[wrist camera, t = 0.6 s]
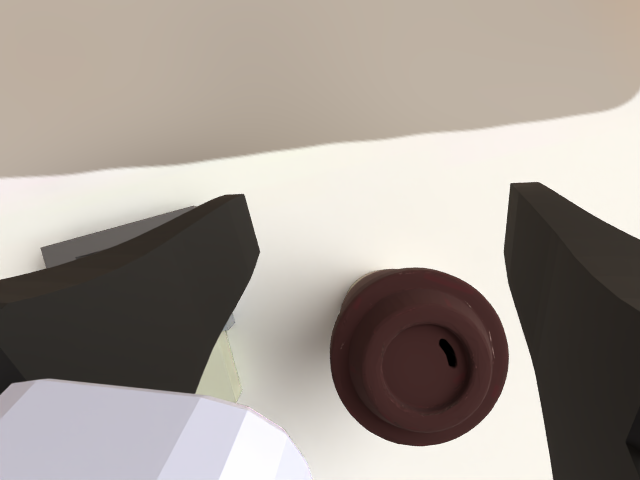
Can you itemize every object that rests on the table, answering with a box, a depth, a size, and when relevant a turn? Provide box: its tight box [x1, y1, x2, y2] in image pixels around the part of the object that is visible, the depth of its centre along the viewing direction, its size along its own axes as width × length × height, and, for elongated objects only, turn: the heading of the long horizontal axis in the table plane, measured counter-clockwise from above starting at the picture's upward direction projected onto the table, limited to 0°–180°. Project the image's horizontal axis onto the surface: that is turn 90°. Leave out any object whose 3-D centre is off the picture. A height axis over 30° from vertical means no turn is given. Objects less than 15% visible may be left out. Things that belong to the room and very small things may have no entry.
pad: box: [195, 331, 242, 403], centre depth 35 cm, size 6×11×2 cm, turn 105°
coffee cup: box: [330, 268, 509, 446], centre depth 29 cm, size 10×10×15 cm
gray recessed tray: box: [41, 206, 235, 331], centre depth 35 cm, size 10×13×2 cm
